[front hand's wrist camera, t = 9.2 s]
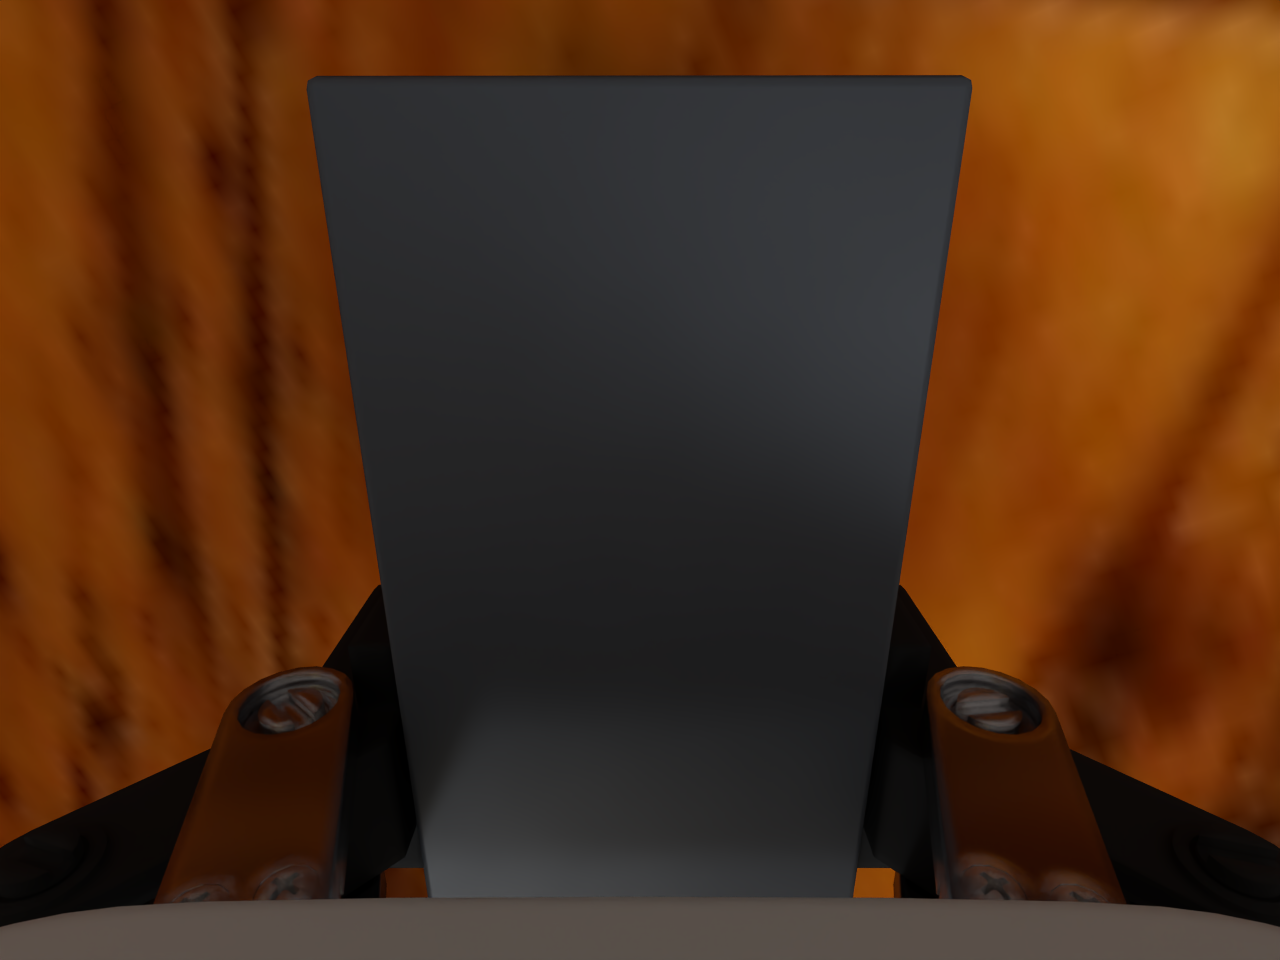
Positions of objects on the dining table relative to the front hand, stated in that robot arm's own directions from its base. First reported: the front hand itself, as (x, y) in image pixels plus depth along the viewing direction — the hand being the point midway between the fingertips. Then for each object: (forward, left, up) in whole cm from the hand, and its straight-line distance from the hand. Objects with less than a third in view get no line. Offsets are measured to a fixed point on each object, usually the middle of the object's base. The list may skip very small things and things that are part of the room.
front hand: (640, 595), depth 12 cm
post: (+25, -11, -2) cm, 27 cm away
